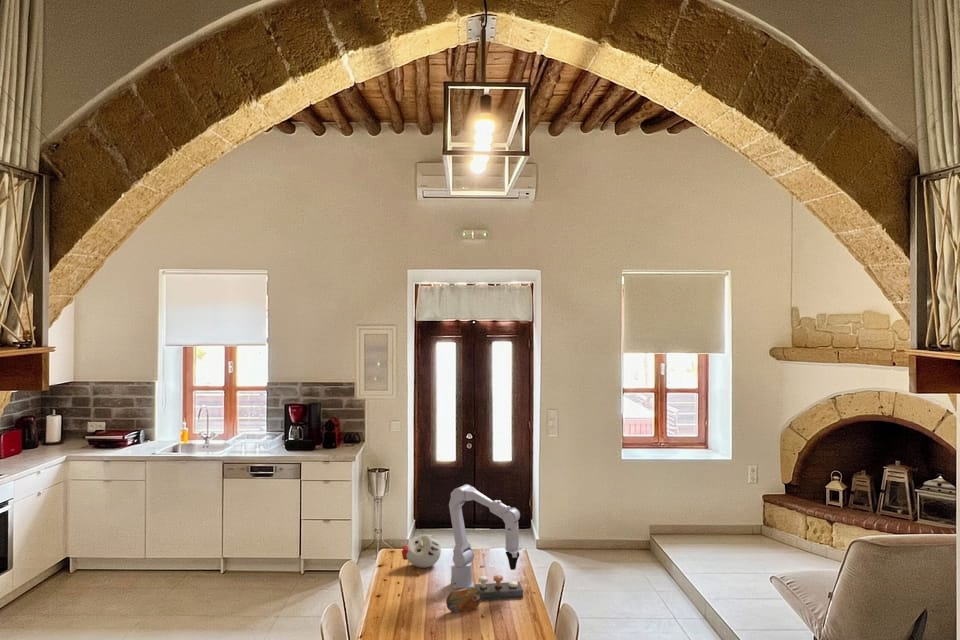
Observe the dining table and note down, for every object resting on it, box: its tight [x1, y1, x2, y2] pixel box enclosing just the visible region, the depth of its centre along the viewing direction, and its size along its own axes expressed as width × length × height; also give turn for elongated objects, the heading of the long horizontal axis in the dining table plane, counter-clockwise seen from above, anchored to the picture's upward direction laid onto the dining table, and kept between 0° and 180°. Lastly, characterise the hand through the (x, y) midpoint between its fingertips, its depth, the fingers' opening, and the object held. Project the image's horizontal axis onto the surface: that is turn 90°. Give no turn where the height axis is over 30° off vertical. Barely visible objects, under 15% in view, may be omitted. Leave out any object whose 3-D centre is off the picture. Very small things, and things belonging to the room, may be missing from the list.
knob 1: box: [478, 575, 489, 589], centre depth 281 cm, size 4×4×4 cm
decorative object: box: [401, 534, 442, 569], centre depth 319 cm, size 15×19×15 cm
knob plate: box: [473, 581, 524, 601], centre depth 282 cm, size 20×10×3 cm, turn 95°
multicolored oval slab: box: [445, 587, 482, 614], centre depth 267 cm, size 15×3×8 cm, turn 117°
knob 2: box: [508, 580, 519, 588], centre depth 283 cm, size 4×4×4 cm
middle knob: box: [493, 574, 504, 588], centre depth 282 cm, size 4×4×4 cm
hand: (512, 569), depth 283 cm, fingers closed
